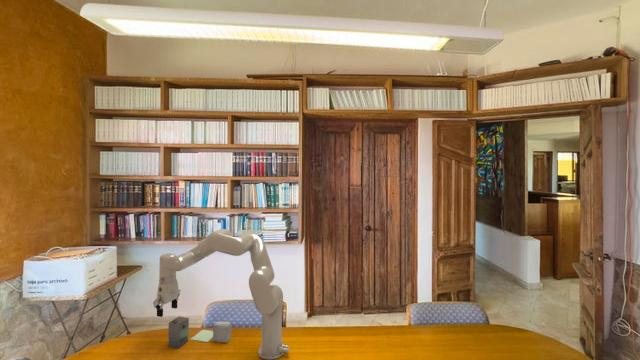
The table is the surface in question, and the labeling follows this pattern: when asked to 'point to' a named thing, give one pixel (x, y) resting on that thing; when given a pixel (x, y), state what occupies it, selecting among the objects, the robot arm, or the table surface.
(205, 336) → the pad
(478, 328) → the table surface
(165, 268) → the robot arm
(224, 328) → the medicine box
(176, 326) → the block
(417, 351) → the table surface
